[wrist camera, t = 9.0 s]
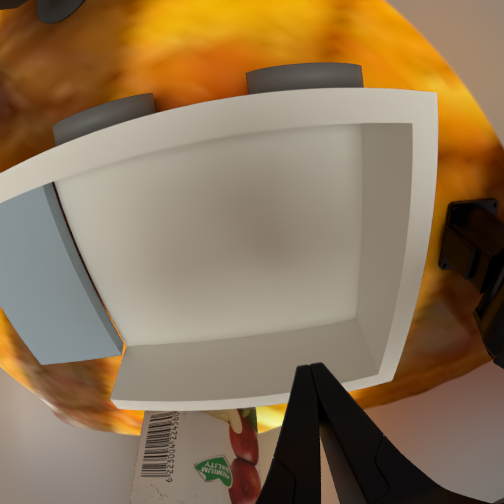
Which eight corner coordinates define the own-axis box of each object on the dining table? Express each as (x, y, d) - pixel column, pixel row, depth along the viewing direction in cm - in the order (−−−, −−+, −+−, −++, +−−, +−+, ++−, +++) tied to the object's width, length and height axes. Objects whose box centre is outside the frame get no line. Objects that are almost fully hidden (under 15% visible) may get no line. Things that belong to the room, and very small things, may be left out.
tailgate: (41, 184, 12) (-40, 224, 11) (121, 354, 19) (41, 364, 18) (57, 174, 14) (-23, 211, 13) (125, 334, 21) (48, 346, 20)
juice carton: (200, 410, 33) (194, 607, 9) (143, 364, 28) (106, 608, 5) (263, 392, 31) (281, 615, 8) (212, 340, 26) (206, 642, 3)
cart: (346, 71, 15) (434, 61, 7) (350, 301, 24) (388, 390, 16) (77, 121, 16) (-19, 155, 8) (150, 327, 25) (126, 417, 17)
